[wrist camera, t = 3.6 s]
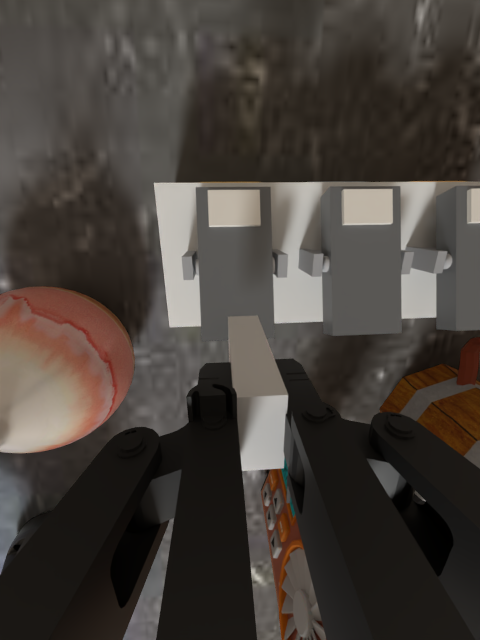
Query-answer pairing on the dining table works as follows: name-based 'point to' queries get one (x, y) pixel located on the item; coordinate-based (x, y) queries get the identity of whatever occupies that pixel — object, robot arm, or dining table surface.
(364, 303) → the rocker
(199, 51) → the dining table surface
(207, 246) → the rocker
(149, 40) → the dining table surface
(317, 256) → the console
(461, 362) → the mug
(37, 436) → the vase
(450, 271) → the rocker
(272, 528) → the control panel
